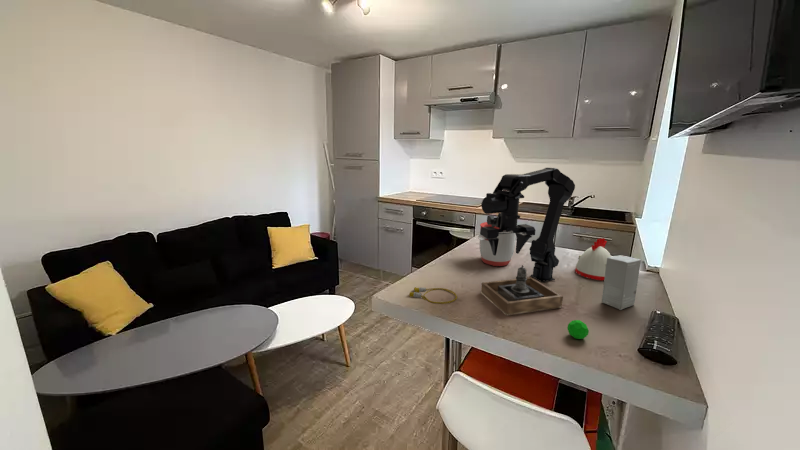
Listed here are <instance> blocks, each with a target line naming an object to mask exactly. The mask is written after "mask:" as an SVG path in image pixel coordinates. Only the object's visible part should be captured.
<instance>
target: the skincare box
mask: <svg viewBox="0 0 800 450" xmlns="http://www.w3.org/2000/svg"><path fill="white" fill-rule="evenodd" d="M641 261H642V259H641V258H640V259H639V258H634V257H631V256H626V255H623V254H621V255H620V254H619V255H612V256H611V257H608V258H607V263H606V271H605V279H604V281H603V288H602V295H601V303H602V304H605V305H608V306H610V307H612V308H615V309H617V310H620V311H622V310H624V309H626V308H629V307H632V306H634V305H635V303H636V295H637V294H636V293H637V288H638V283H639V275H640V267H641V263H642V262H641Z"/></svg>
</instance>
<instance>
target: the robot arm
mask: <svg viewBox="0 0 800 450" xmlns="http://www.w3.org/2000/svg"><path fill="white" fill-rule="evenodd" d="M543 182H544V184H545V185H546V186H547V187H548V190H547V194H548V198H549V203H548V207H547V210H546V213H545V217H544V220H543V222H542V226H541V231H540V234H539V237H537V238H536V239H532V241H531V244H530V247H529V255H530V260H531V262H534V266H533V268H532V274H530V277H532V278H533V279H535V280H537V281H538V282H540V283H544V282H551V281H553V282H554V281H555V280H556V278H553V275H554V274H553V272H554V269H555V268H556V267H558V266H559V263H560V260H559V259H558V256H556V255H555V253H556V245H555V242H554V238H555V235H556V233H557V229H558V225H559V222H560V218H561V215H562V212H563V209H564V206H565V203H567V202H568V201H569V200H570V198H572V195H573V194H574V192H575V188H576V184H575V183H574V180H573V179H571V178H570V177H569V176H568V175H566V174H564V173H563V172H561V171H560V169H559V168H556V167H544V168H542V169H539V170H535V171H530V172H527V173H522V174H521V173H520V174H517V173H516V174H515V173H510V174H507V173H506V174H504V175H502V176H501V179H500V181H498V183H497V185H496V186H495V188H494V190H493V192H492V193H489V192H488V193H486V195H485V197H484V198H483V199H482V201H481V203H480V204H481V210H482V212H483V213H484V214H486V215H487V217H486V222H487V224H488V225H491V226H492V227H491V226H489V227H482V228H481V227H480V228H481V230H480V231H479V235H482V236H484V237H485V238H487V239H488V241H489V243H490V246H491V249H492V253H493V255H494V256H495V255H496V253H497V247H498V242H499V239H498V238H497V237H498V236H499V234H509V233H515V234H516V241H515V254H520V252H521V251H522V249H523V247H524V246H525V244H526V243H527V242H528V241H529V239H530V238H532V237H533V236H535V235H536V228H535V226H533V225H530V224H527V223H524V224H522V223H521V224H518V220H519V219H521V215H519V207H520V199H524V198H525V195H524V194H523V193H522V192H523V191H525V190H526V189H528V187H529V186H532V185H536V184H540V183H543ZM490 214H491V215H490ZM492 214H497V217H495V216H494V215H492ZM495 226H496V227H497V228H500V229H496V228H493V227H495Z"/></svg>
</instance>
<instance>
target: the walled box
mask: <svg viewBox="0 0 800 450" xmlns="http://www.w3.org/2000/svg"><path fill="white" fill-rule="evenodd" d="M526 278H527V280H526V284H527V285H529V286H530V287H532V288H533V289H535V290H536V291H538V292H539V293H541V294H542V295H544V297H541V298H533V299H526V300H518V301H510V302H508V301H507V300H506V299H505V298H503V297H502V296H501V295H500V294H498V286H501V285H510V284H516V278H511V279H501V280H494V281H485V282H481V291H480V294H481V295H482V296H484V297H485V298H486V299H487V300H488V301H489V302H491V304H493V305H494V306H495V307H496V308H497V309H498V310H500V311H501V312H502V313H503V314H504V315H505V316H513V315H519V314H525V313H534V312H541V311H547V310H549V311H550V310H553V309H561V308H562V307H563V299H564V296H563V295H561V294H560V293H558V292H557V291H555V290H553V289H552V288H550V287H549V286H547V285H545V284H543V282H540V281H538V280H537V279H535V278H533V277H532V276H529V277H526ZM513 295H514V294H513Z"/></svg>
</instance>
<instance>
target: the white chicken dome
mask: <svg viewBox="0 0 800 450" xmlns="http://www.w3.org/2000/svg"><path fill="white" fill-rule="evenodd" d="M607 242H608V241H607V240H606V238H603V237H602V238H601V237H600V238H596V241H593V244H591V247H588V248H587V249H586V250H585V251H583V253H581V254H579V255H578V259H577V262H576V265H575V269H574V271H575V274H577V275H579V276H581V277H583V276H584V278H586V277H587V278H586V279H590V278H591V280H594V279H595V280H596V281H603V280H604V279H605V271H606V263H607V258H608V257H612V255H611V253H610V252H609V251H608V250H607V249H606V248H605V247H606V245H607Z"/></svg>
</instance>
